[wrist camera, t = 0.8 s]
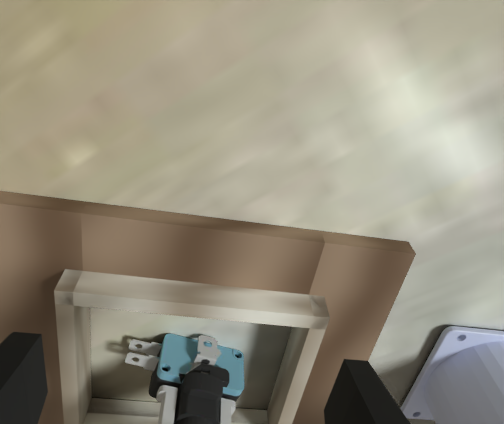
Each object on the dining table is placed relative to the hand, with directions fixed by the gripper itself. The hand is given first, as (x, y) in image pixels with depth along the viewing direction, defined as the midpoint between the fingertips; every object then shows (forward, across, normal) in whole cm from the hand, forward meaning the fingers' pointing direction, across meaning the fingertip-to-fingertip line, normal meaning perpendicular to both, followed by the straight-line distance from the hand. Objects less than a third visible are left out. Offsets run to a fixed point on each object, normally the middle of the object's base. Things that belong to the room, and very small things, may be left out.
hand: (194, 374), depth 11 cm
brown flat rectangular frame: (+10, 0, +11) cm, 15 cm away
